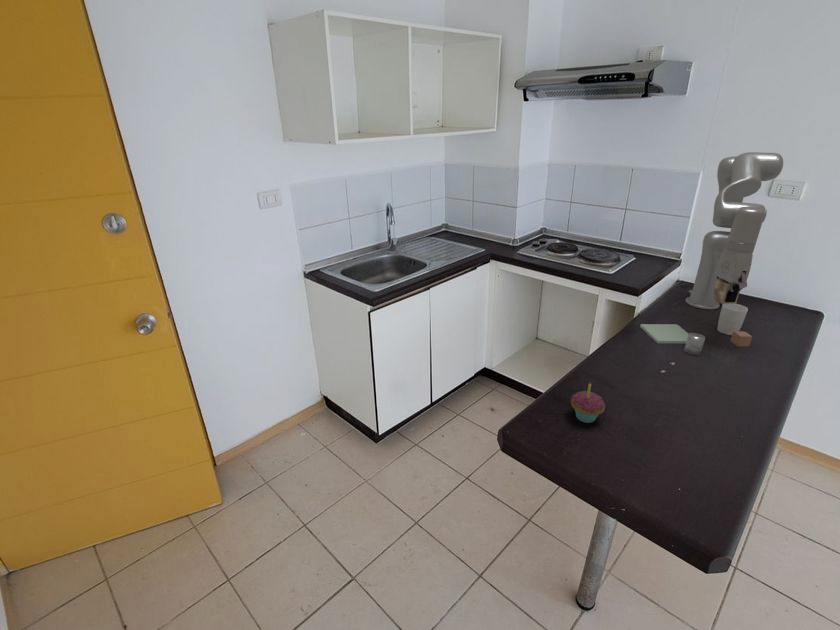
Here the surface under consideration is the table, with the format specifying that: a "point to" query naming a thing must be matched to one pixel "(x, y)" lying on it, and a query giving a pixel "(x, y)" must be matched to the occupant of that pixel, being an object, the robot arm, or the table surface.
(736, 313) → the white cup
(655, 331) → the sage plate
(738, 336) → the terracotta cube
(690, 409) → the table surface
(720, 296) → the maple block
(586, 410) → the cupcake
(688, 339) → the grey metal cylinder
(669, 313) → the table surface
